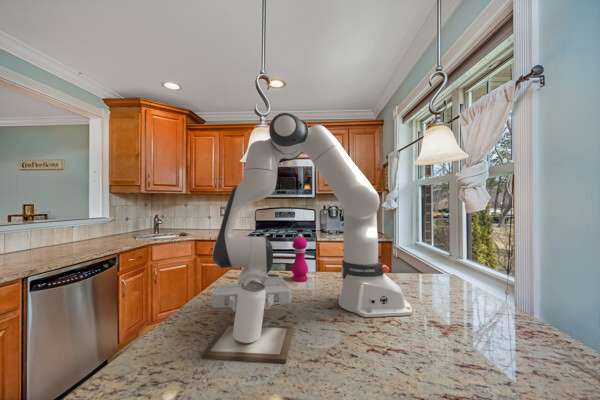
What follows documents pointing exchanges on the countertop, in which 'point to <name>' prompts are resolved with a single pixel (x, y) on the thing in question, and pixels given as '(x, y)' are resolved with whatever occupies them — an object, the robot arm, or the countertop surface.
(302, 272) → the pepper mill
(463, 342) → the countertop surface
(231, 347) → the clipboard
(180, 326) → the countertop surface
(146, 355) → the countertop surface
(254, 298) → the can
